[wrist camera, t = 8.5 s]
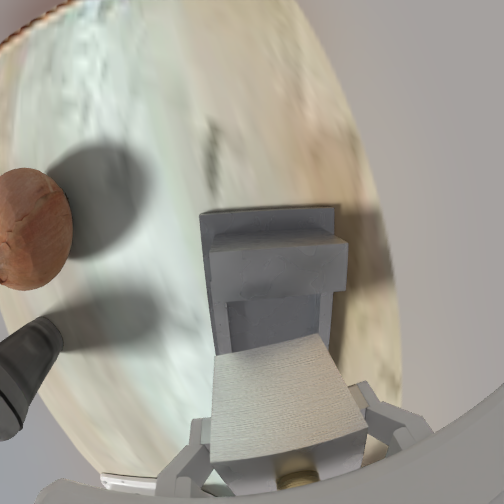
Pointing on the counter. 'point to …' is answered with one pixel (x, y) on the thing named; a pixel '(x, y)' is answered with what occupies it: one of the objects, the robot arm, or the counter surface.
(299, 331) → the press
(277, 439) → the housing
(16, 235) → the onion
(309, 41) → the counter surface
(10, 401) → the beverage cup
